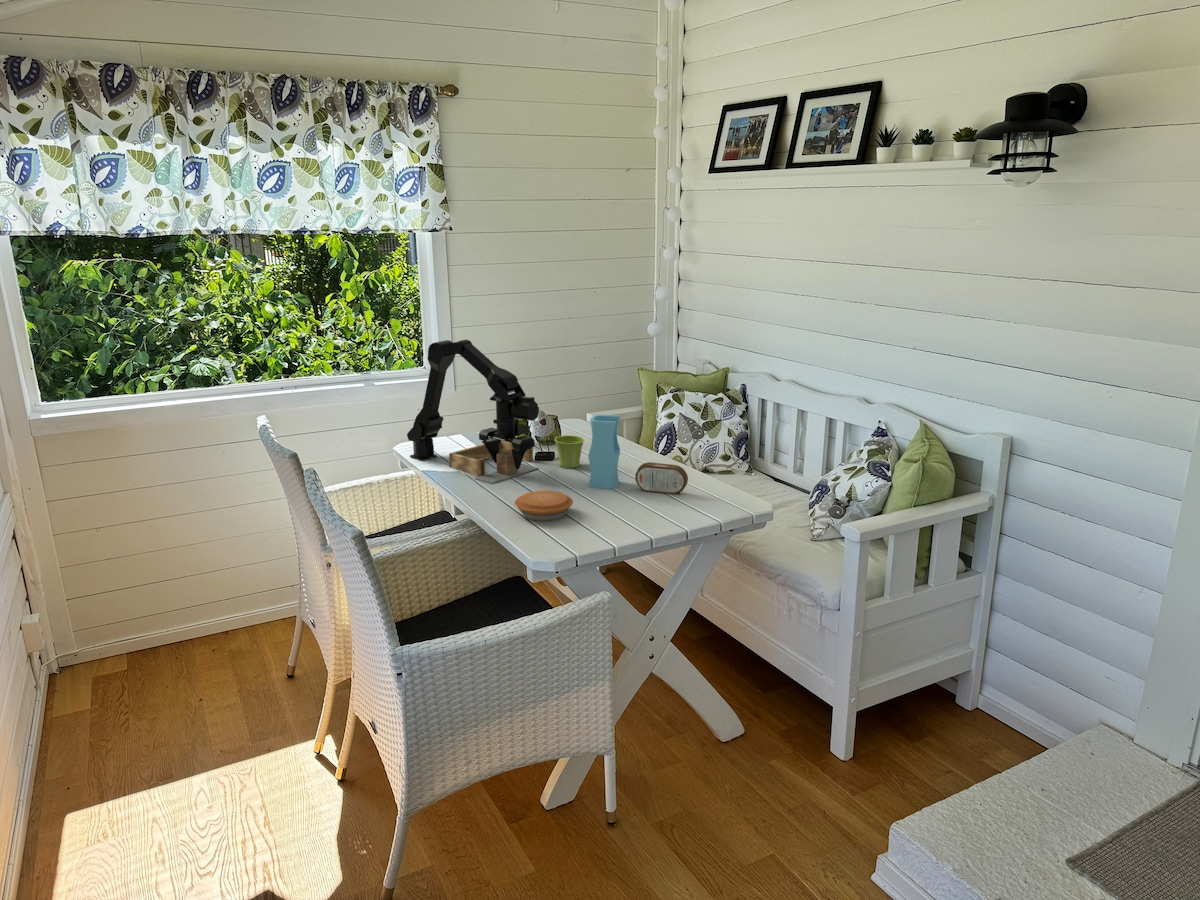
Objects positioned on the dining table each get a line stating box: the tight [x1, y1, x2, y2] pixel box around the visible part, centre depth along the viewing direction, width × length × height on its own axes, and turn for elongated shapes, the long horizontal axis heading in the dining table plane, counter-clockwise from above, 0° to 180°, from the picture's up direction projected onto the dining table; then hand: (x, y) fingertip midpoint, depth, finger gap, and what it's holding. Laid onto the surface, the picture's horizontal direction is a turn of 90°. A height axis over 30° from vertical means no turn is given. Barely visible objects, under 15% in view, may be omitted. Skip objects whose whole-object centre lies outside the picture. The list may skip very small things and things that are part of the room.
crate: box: [448, 441, 534, 477], centre depth 277 cm, size 14×23×5 cm, turn 140°
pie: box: [514, 490, 574, 522], centre depth 234 cm, size 15×16×5 cm
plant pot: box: [554, 434, 585, 469], centre depth 275 cm, size 9×9×9 cm
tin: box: [634, 461, 689, 495], centre depth 251 cm, size 15×3×8 cm, turn 74°
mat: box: [474, 462, 540, 485], centre depth 268 cm, size 7×20×1 cm, turn 140°
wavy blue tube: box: [587, 414, 621, 490], centre depth 256 cm, size 8×8×20 cm
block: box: [496, 451, 518, 476], centre depth 267 cm, size 4×4×6 cm
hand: (507, 465), depth 267 cm, fingers open, 9 cm apart
